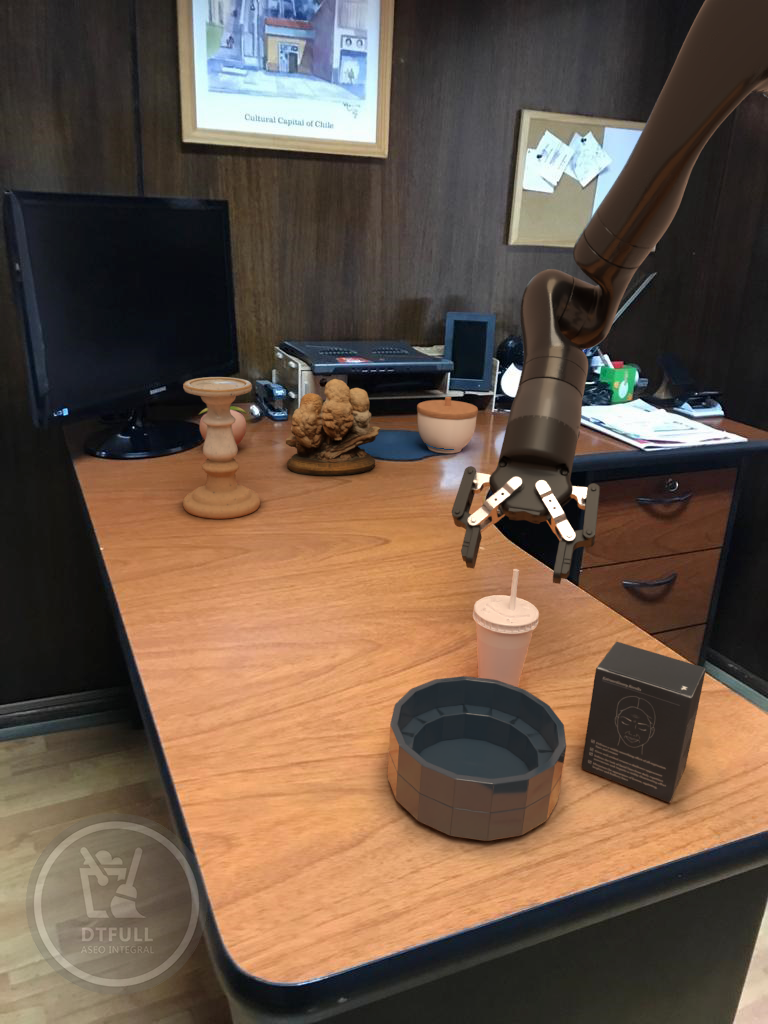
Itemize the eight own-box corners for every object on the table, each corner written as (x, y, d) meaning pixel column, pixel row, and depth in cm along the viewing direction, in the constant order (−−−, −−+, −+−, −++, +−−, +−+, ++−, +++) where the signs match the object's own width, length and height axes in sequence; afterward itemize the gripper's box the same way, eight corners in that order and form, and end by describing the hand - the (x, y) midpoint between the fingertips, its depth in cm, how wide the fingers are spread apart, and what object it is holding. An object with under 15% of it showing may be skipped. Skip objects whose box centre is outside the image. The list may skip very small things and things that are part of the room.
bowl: (551, 742, 72) (559, 686, 69) (562, 858, 58) (572, 794, 56) (399, 723, 73) (402, 668, 71) (376, 832, 60) (379, 768, 58)
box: (685, 769, 69) (708, 666, 65) (669, 806, 64) (693, 697, 60) (599, 737, 73) (615, 638, 69) (578, 769, 68) (595, 665, 64)
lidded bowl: (466, 440, 170) (470, 391, 166) (481, 457, 159) (485, 404, 155) (410, 440, 169) (413, 390, 165) (420, 457, 157) (423, 403, 153)
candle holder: (210, 489, 133) (205, 372, 126) (273, 500, 129) (272, 380, 122) (167, 511, 122) (159, 385, 115) (235, 524, 118) (231, 394, 111)
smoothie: (515, 720, 74) (531, 589, 70) (455, 699, 77) (466, 572, 72) (537, 688, 80) (553, 565, 75) (480, 669, 83) (492, 549, 78)
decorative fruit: (209, 459, 149) (207, 408, 146) (195, 448, 156) (193, 399, 152) (254, 454, 154) (254, 405, 150) (240, 443, 160) (239, 396, 157)
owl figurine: (370, 456, 156) (373, 371, 150) (386, 473, 146) (391, 384, 140) (281, 459, 151) (281, 372, 145) (292, 478, 141) (292, 385, 135)
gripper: (472, 405, 80) (436, 546, 74) (613, 421, 76) (588, 571, 70) (478, 442, 87) (446, 574, 81) (609, 458, 83) (585, 599, 77)
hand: (512, 573), depth 75 cm, fingers open, 8 cm apart
